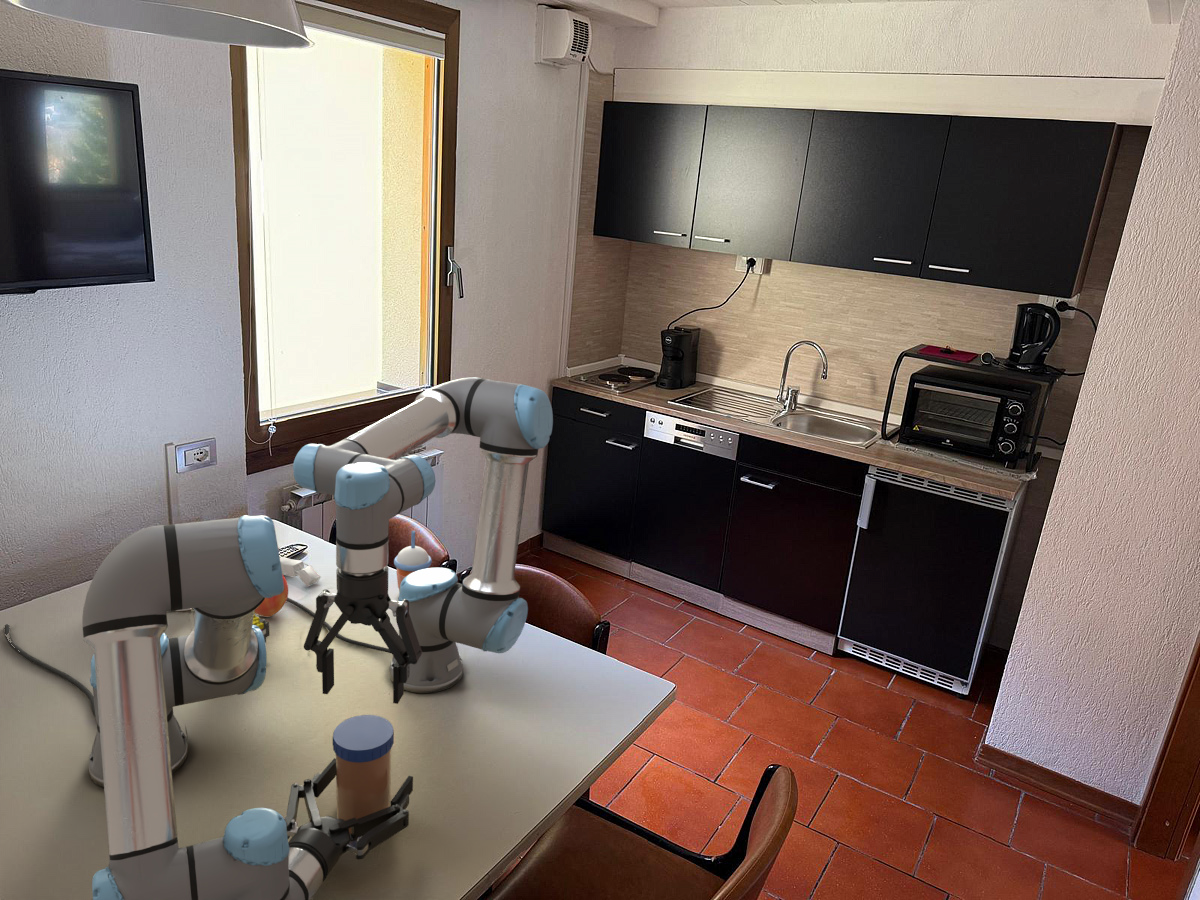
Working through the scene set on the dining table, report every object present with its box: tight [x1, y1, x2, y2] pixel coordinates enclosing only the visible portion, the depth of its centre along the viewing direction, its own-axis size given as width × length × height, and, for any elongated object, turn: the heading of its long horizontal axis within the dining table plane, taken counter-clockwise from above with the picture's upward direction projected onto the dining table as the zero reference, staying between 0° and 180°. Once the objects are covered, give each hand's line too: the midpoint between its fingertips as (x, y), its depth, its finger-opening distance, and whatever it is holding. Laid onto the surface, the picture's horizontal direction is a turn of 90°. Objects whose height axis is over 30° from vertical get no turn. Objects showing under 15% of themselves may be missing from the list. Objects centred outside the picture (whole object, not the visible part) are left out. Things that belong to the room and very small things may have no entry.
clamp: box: [278, 546, 322, 587], centre depth 219 cm, size 20×4×7 cm, turn 62°
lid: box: [332, 714, 395, 762], centre depth 137 cm, size 9×9×2 cm
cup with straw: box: [393, 530, 433, 592], centre depth 211 cm, size 9×9×18 cm
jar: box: [335, 748, 392, 834], centre depth 139 cm, size 9×9×16 cm
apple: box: [254, 575, 289, 618], centre depth 199 cm, size 10×10×10 cm
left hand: (373, 773), depth 142 cm, fingers open, 13 cm apart
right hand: (363, 694), depth 134 cm, fingers open, 11 cm apart
